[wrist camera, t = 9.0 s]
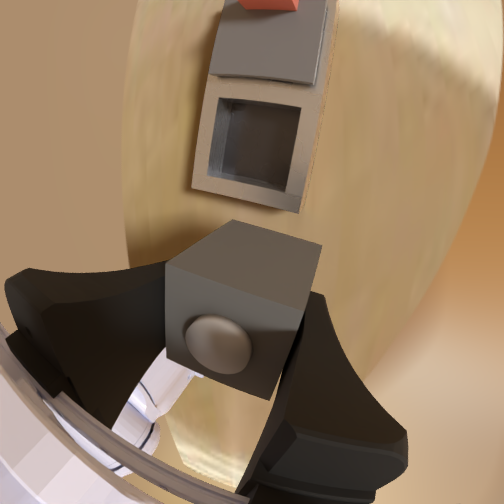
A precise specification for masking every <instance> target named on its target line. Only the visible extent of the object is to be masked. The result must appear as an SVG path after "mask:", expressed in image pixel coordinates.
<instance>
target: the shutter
mask: <svg viewBox="0 0 504 504" xmlns="http://www.w3.org/2000/svg"><path fill="white" fill-rule="evenodd" d="M326 8H327V0H225V3H224V6H223V10H222V14H221V18H220V22H219V26H218V30H217V35H216V39H215V43H214V48H213V53H212V57H211V62H210V67H209V72H208V74H210V75H212V76H236V77H252V78H263V79H272V80H281V81H288V82H295V83H302V84H308V85H313V86H314V84H315V78H316V72H317V66H318V60H319V54H320V48H321V41H322V35H323V28H324V22H325V15H326Z"/></svg>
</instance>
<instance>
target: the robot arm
mask: <svg viewBox="0 0 504 504" xmlns="http://www.w3.org/2000/svg"><path fill="white" fill-rule="evenodd" d="M168 261H169V260H167V261H163V262H159V263H155V264H150V265H146V266H141V267H136V268H131V269H126V270H119V271H111V272H98V273H64V272H51V271H45V270H38V269H32V268H28V269H25V270H23V271H21V272H19V273H17V274H15V275H14V276H12V277H10V278H8V279H7V280H6V281H5V293H6V297H7V301H8V304H9V307H10V310H11V313H12V315H13V318H14V320H15V323H16V325H17V328H18V330H16V331H15V332H14V333H12V334H11V335H9V333H8V332H7V331H6V329H5V328H4V327H3V325H2V324H1V323H0V504H164V503H162V502H160V501H158V500H156V499H155V498H153V497H151V496H149V495H148V494H146V493H144V492H143V491H141V490H139V489H138V488H136V487H134V486H133V485H131V484H130V483H128V482H127V481H125V480H124V479H123V478H122V477H124V476H125V475H128V474H131V473H133V472H134V473H136V474H137V475H139V476H141V477H142V478H144V479H146V480H148V481H149V482H151V483H153V484H155V485H157V486H158V487H160V488H162V489H164V490H166V491H168V492H170V493H172V494H174V495H176V496H178V497H180V498H183V499H185V500H187V501H189V502H191V503H194V504H370V503H373V501H374V500H375V494H376V490H377V489H379V488H381V487H383V486H384V485H386V484H388V483H390V482H391V481H393V480H395V479H396V478H397V477H399V476H400V475H401V474H402V473H404V471H405V470H406V468H407V467H408V439H407V431H406V430H405V429H404V428H403V427H402V426H401V425H400V424H399V423H398V422H397V421H396V420H395V419H394V418H393V417H392V416H391V415H390V414H388V413H387V411H386V410H385V409H384V408H383V407H382V406H381V405H380V404H379V403H378V401H376V399H375V398H374V397H373V396H372V394H371V393H370V392H369V391H368V389H367V388H366V387H365V385H364V384H363V382H362V381H361V380H360V378H359V377H358V375H357V374H356V372H355V371H354V369H353V368H352V366H351V364H350V362H349V361H348V359H347V357H346V355H345V353H344V351H343V349H342V347H341V345H340V342H339V340H338V338H337V335H336V333H335V330H334V327H333V324H332V322H331V318H330V315H329V312H328V308H327V304H326V300H325V297H324V295H322V294H319V293H315V292H312V291H310V294H309V297H308V301H307V304H306V308H305V311H304V314H303V317H302V319H301V322H300V325H299V328H298V330H297V333H296V336H295V339H294V341H293V344H292V346H291V349H290V352H289V354H288V357H287V359H286V362H285V364H284V367H283V370H282V374H281V378H280V382H279V386H278V390H277V394H276V398H275V401H274V404H273V407H272V410H271V412H270V415H269V417H268V420H267V422H266V425H265V427H264V430H263V432H262V434H261V437H260V439H259V441H258V444H257V446H256V448H255V451H254V453H253V455H252V457H251V460H250V462H249V464H248V466H247V468H246V470H245V473H244V475H243V477H242V479H241V481H240V483H239V485H238V487H237V489H236V491H235V493H232V492H230V491H227V490H224V489H221V488H219V487H216V486H213V485H211V484H209V483H206V482H204V481H201V480H199V479H197V478H194V477H192V476H190V475H188V474H186V473H184V472H181V471H179V470H177V469H175V468H173V467H171V466H169V465H167V464H165V463H164V462H162V461H160V460H158V459H156V458H155V457H153V456H151V455H152V454H153V453H154V451H155V449H156V448H157V445H158V443H159V440H160V426H159V424H158V423H157V422H155V420H156V418H157V417H160V416H162V415H164V414H165V413H167V412H168V411H169V410H170V409H171V407H172V406H173V404H174V403H175V402H176V400H177V399H178V397H179V396H180V395H181V393H182V392H183V390H184V389H185V388H186V386H187V385H188V383H189V382H190V381H191V379H192V378H193V376H194V375H196V376H198V377H201V378H203V377H204V375H201V374H199V373H197V372H195V371H192V370H190V369H188V368H186V367H184V366H182V365H180V364H177V363H175V362H173V361H171V360H169V359H167V358H166V337H165V264H166V262H168Z"/></svg>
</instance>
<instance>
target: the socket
mask: <svg viewBox="0 0 504 504" xmlns="http://www.w3.org/2000/svg"><path fill="white" fill-rule="evenodd" d="M339 10H340V9H339V0H327V8H326V15H325V22H324V28H323V35H322V41H321V48H320V54H319V60H318V66H317V72H316V78H315V84H314V86H313V85H308V84H302V83H295V82H288V81H281V80H272V79H263V78H252V77H236V76H212V75H210V74H208V78H207V84H206V89H205V95H204V100H203V106H202V112H201V119H200V125H199V132H198V139H197V146H196V153H195V161H194V169H193V177H192V186H191V188H193V189H198V190H203V191H207V192H212V193H216V194H221V195H225V196H229V197H234V198H238V199H242V200H246V201H251V202H255V203H259V204H263V205H267V206H271V207H275V208H278V209H282V210H286V211H290V212H294V213H297V214H299V212H300V211H301V210H302V208H303V207H304V205H305V200H306V196H307V191H308V187H309V182H310V178H311V173H312V168H313V164H314V159H315V154H316V149H317V144H318V139H319V134H320V129H321V124H322V118H323V113H324V107H325V102H326V96H327V91H328V85H329V79H330V73H331V66H332V60H333V54H334V47H335V40H336V33H337V26H338V18H339Z"/></svg>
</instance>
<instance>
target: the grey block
mask: <svg viewBox="0 0 504 504" xmlns="http://www.w3.org/2000/svg"><path fill="white" fill-rule="evenodd" d="M321 249H322V245H319V244H316V243H313V242H309V241H306V240H303V239H299V238H296V237H293V236H289V235H286V234H282V233H279V232H275V231H272V230H268V229H265V228H261V227H258V226H254V225H251V224H247V223H244V222H240V221H236V220H231V221H229V222H228V223H226V224H225V225H223V226H221V227H220V228H218V229H217V230H215V231H214V232H212V233H211V234H209V235H207V236H206V237H204V238H203V239H201V240H200V241H198V242H197V243H195V244H194V245H192V246H191V247H189V248H188V249H186V250H184V251H183V252H181V253H180V254H178V255H177V256H175V257H174V258H172V259H171V260H169V261H168V262H166V264H165V337H166V358H167V359H169V360H171V361H173V362H175V363H177V364H180V365H182V366H184V367H186V368H188V369H190V370H192V371H195V372H197V373H199V374H201V375H204V376H206V377H208V378H210V379H213V380H215V381H218V382H220V383H222V384H225V385H227V386H230V387H232V388H235V389H238V390H240V391H243V392H246V393H248V394H251V395H254V396H257V397H259V398H262V399H265V400H268V401H270V398H271V396H272V394H273V391H274V389H275V386H276V384H277V382H278V379H279V377H280V374H281V372H282V369H283V367H284V364H285V362H286V359H287V357H288V354H289V352H290V349H291V346H292V344H293V341H294V339H295V336H296V333H297V330H298V328H299V325H300V322H301V319H302V317H303V314H304V311H305V308H306V304H307V301H308V297H309V294H310V290H311V287H312V283H313V279H314V276H315V272H316V268H317V264H318V260H319V257H320V253H321Z"/></svg>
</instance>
